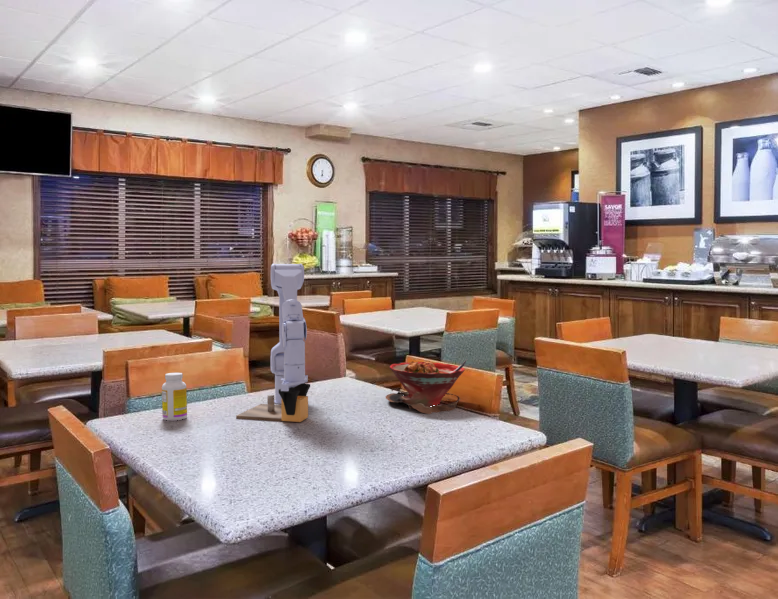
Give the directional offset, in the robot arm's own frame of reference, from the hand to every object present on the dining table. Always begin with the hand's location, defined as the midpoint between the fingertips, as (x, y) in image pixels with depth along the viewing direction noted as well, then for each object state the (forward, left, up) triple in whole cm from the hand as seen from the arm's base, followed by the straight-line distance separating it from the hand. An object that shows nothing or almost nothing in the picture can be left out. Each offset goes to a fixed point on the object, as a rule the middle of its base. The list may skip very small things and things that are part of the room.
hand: (294, 412), depth 183 cm
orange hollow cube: (0, 0, -2) cm, 2 cm away
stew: (-29, +32, -3) cm, 43 cm away
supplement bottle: (+6, -34, -3) cm, 35 cm away
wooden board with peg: (-6, -10, -2) cm, 12 cm away
